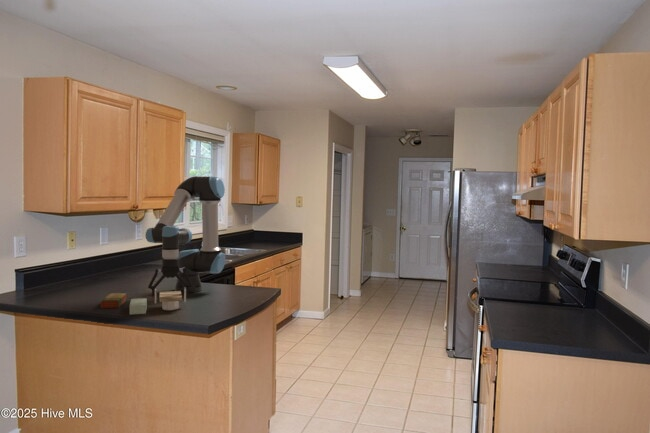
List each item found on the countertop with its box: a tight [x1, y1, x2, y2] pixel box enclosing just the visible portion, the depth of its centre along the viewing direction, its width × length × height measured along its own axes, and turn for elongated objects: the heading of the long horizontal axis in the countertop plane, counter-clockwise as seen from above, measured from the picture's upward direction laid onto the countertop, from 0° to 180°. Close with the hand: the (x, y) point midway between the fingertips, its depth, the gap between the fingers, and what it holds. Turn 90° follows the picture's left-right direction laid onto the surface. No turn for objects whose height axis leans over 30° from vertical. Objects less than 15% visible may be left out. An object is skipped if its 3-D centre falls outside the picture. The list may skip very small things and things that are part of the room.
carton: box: [100, 292, 127, 309], centre depth 246 cm, size 8×16×4 cm, turn 9°
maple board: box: [159, 290, 183, 303], centre depth 238 cm, size 15×10×2 cm, turn 18°
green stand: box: [129, 297, 148, 315], centre depth 234 cm, size 15×7×4 cm, turn 18°
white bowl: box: [161, 301, 180, 311], centre depth 238 cm, size 8×8×5 cm
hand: (170, 302), depth 238 cm, fingers open, 13 cm apart
